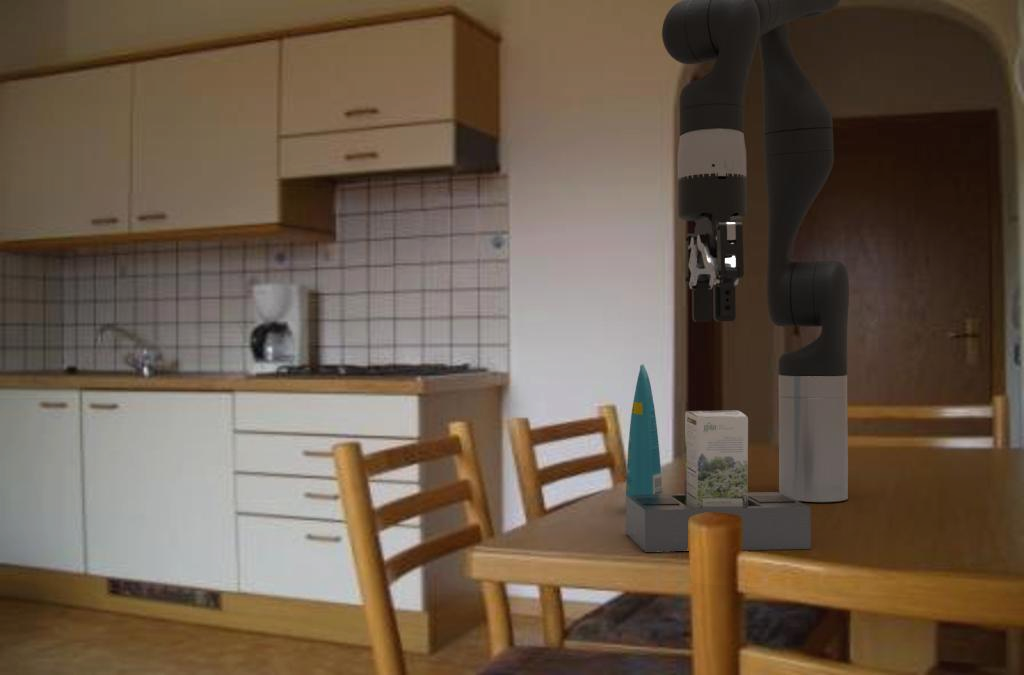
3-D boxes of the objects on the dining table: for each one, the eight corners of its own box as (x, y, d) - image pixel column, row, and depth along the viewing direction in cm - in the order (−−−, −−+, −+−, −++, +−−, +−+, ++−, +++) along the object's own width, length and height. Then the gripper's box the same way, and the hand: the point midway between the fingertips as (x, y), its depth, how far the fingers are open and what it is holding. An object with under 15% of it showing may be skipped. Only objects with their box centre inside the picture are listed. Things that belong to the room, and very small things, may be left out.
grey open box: (626, 533, 113) (625, 494, 113) (777, 530, 114) (777, 491, 114) (645, 552, 103) (644, 509, 103) (810, 548, 104) (810, 505, 104)
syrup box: (733, 535, 111) (733, 408, 111) (749, 546, 106) (748, 413, 106) (684, 536, 111) (683, 409, 111) (697, 547, 105) (696, 413, 105)
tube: (624, 507, 130) (623, 363, 130) (661, 507, 130) (660, 363, 130) (626, 517, 123) (625, 365, 123) (665, 517, 123) (664, 365, 123)
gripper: (663, 185, 115) (664, 322, 115) (696, 164, 101) (697, 321, 101) (725, 185, 116) (726, 322, 116) (766, 165, 102) (767, 320, 102)
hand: (713, 321), depth 108 cm, fingers open, 8 cm apart
